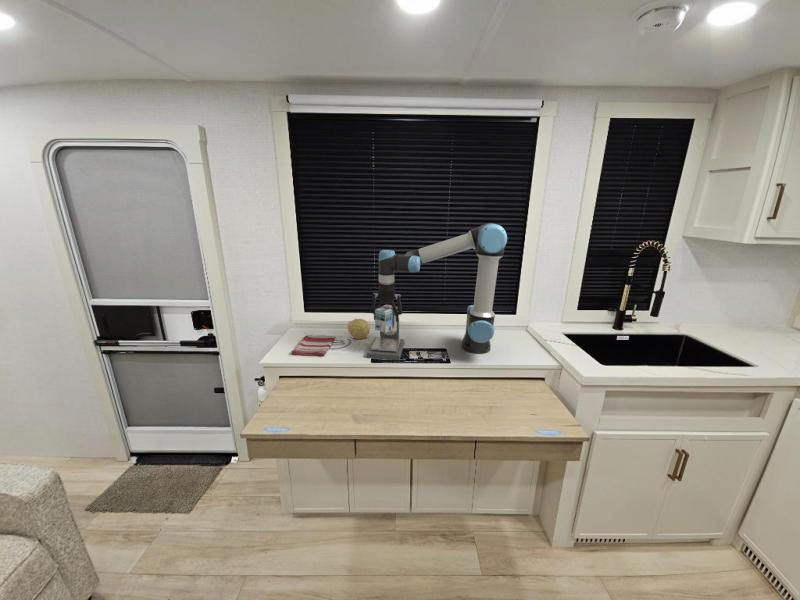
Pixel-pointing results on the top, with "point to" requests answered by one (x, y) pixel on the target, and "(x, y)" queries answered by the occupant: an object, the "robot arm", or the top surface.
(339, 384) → the top surface
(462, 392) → the top surface
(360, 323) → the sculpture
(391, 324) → the light bulb box
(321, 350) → the dish towel
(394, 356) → the scale base
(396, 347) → the pan
